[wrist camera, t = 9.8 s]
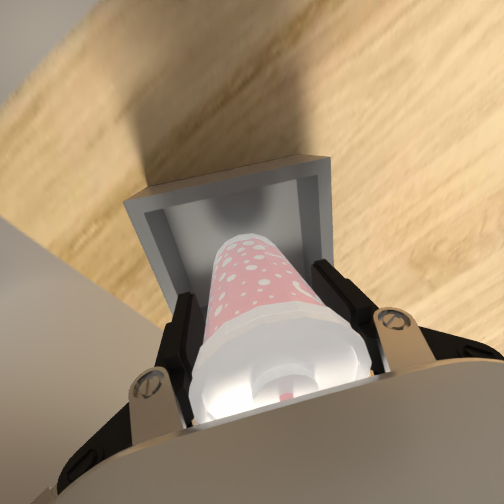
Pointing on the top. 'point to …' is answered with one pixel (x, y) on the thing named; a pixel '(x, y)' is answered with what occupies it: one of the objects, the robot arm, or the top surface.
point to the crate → (234, 220)
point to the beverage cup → (267, 335)
